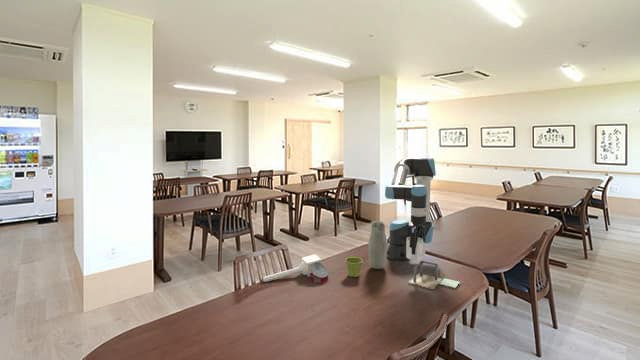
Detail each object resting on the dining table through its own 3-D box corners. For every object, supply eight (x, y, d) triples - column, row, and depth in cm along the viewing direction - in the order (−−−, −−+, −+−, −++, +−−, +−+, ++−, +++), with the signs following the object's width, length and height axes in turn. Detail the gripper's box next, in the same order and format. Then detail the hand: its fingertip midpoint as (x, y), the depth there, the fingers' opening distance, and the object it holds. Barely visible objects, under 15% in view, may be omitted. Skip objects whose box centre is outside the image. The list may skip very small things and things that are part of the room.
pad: (439, 285, 173) (439, 283, 173) (444, 280, 179) (444, 278, 179) (455, 289, 168) (455, 287, 168) (460, 283, 174) (460, 281, 174)
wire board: (408, 283, 175) (408, 281, 175) (418, 274, 186) (418, 273, 186) (433, 290, 167) (433, 288, 167) (442, 280, 178) (442, 278, 178)
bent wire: (412, 281, 175) (413, 265, 174) (420, 275, 184) (420, 259, 183) (430, 286, 170) (431, 269, 169) (437, 279, 178) (438, 263, 177)
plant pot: (351, 279, 181) (351, 264, 180) (342, 273, 189) (342, 258, 188) (365, 276, 185) (365, 261, 184) (356, 270, 193) (356, 256, 192)
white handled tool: (321, 259, 186) (264, 275, 174) (323, 274, 187) (266, 290, 176) (315, 254, 194) (260, 268, 183) (317, 268, 196) (263, 283, 184)
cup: (418, 263, 169) (419, 244, 168) (402, 256, 180) (403, 237, 178) (431, 260, 172) (431, 241, 171) (414, 253, 183) (415, 235, 182)
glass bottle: (365, 268, 196) (365, 221, 193) (375, 263, 204) (375, 218, 200) (379, 273, 189) (380, 224, 186) (389, 267, 197) (390, 221, 194)
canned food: (323, 284, 187) (332, 268, 187) (324, 290, 177) (333, 273, 177) (305, 275, 186) (313, 259, 186) (305, 280, 176) (313, 263, 176)
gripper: (417, 220, 163) (416, 265, 166) (432, 212, 180) (431, 253, 183) (402, 218, 168) (402, 261, 171) (419, 210, 184) (418, 250, 187)
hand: (417, 257), depth 177 cm, fingers closed on cup, 8 cm apart
